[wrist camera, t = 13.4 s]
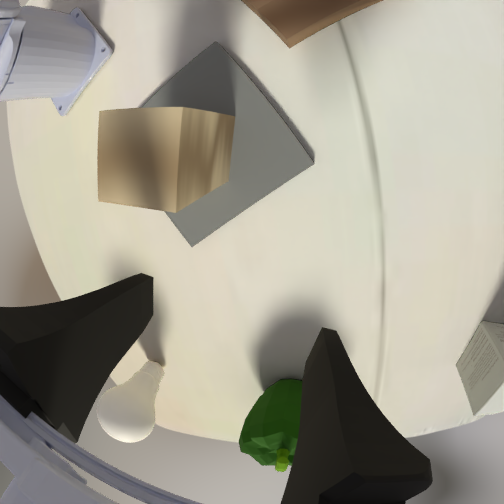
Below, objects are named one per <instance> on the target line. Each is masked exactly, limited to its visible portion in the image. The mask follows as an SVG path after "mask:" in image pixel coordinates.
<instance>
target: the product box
mask: <svg viewBox="0 0 504 504" xmlns="http://www.w3.org/2000/svg"><path fill="white" fill-rule="evenodd" d="M456 367H457V369H458V372H459V375H460V377H461V380H462V383H463V385H464V388H465V391H466V394H467V397H468V400H469V403H470V406H471V409H472V412H473V415H474V416H479V415H486V414H496V413H499V412H504V324H500V323H492V322H487V321H482V322H481V323H480V325H479V326H478V328H477V330H476V332H475V334H474V336H473V338H472V339H471V341H470V343H469V345H468V346H467V348H466V350H465V351H464V353H463V354H462V356H461V358H460V359H459V361H458V362H457V364H456Z"/></svg>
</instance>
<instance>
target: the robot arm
mask: <svg viewBox="0 0 504 504" xmlns="http://www.w3.org/2000/svg"><path fill="white" fill-rule="evenodd" d="M105 48H106V49H105ZM104 50H105V51H104ZM112 52H113V50H112V48H111V47H110V46H109V45H108V43H107V42H106V41H105V40H104V38H103V37H102V36H101V34H100V33H99V32H98V31H97V29H96V28H95V27H94V26H93V24H92V23H91V22H90V20H89V19H88V18H87V17H86V15H85V14H84V13H83V12H82V10H81V9H80V8H78V7H76V8H74V9H73V11H72V12H71V13H70V14H67V13H63V12H59V11H55V10H50V9H45V8H40V7H35V6H23V7H21V6H20V3H19V0H0V102H1V101H10V100H20V99H34V98H51V99H52V101H53V103H54V105H55V107H56V109H57V110H58V112H59V114H60V115H61V116H65V115H66V114H67V113H68V111H69V110H70V108H71V107H72V105H73V104H74V102H75V101H76V100H77V98H78V97H79V95H80V94H81V93H82V91H83V90H84V89H85V87H86V86H87V85H88V83H89V82H90V81H91V79H92V78H93V77H94V76H95V74H96V73H97V72H98V71H99V69H100V68H101V67H102V66H103V65H104V63H105V62H106V61H107V60H108V59H109V58H110V56H111V55H112ZM152 316H153V277H151V276H148V275H145V274H143V273H140V274H137V275H134V276H131V277H129V278H126V279H124V280H121V281H119V282H116V283H114V284H111V285H109V286H106V287H104V288H101V289H99V290H96V291H93V292H90V293H87V294H84V295H82V296H78V297H75V298H72V299H68V300H64V301H60V302H55V303H49V304H43V305H37V306H28V307H0V461H1V462H2V463H3V464H4V465H5V466H6V467H7V468H8V469H9V470H10V471H11V472H12V473H13V474H14V476H15V477H14V478H13V480H12V482H11V483H10V484H9V486H8V487H7V489H6V490H5V492H4V494H3V495H2V497H1V498H0V504H119V503H117V502H115V501H113V500H111V499H109V498H107V497H105V496H104V495H102V494H100V493H98V492H97V491H95V490H93V489H91V488H90V487H88V486H87V485H86V484H87V480H86V479H84V478H83V477H82V476H80V475H79V474H78V473H77V472H76V471H75V470H73V468H72V467H71V466H70V465H69V463H67V462H66V461H65V460H63V459H62V458H61V457H60V456H58V455H57V454H56V453H55V452H53V451H52V449H54V450H55V451H57V452H58V453H60V454H61V455H62V456H63V457H65V458H66V459H68V460H69V461H71V462H72V463H74V464H75V465H77V466H78V467H80V468H81V469H83V470H84V471H86V472H88V473H89V474H91V475H93V476H94V477H96V478H98V479H99V480H101V481H103V482H105V483H106V484H108V485H110V486H112V487H114V488H116V489H118V490H119V491H121V492H123V493H125V494H127V495H130V496H132V497H134V498H136V499H138V500H140V501H142V502H145V503H147V504H202V503H199V502H196V501H192V500H190V499H186V498H184V497H181V496H178V495H175V494H173V493H170V492H167V491H165V490H162V489H160V488H158V487H155V486H153V485H150V484H148V483H146V482H144V481H141V480H139V479H137V478H135V477H133V476H131V475H129V474H127V473H125V472H123V471H121V470H119V469H117V468H115V467H113V466H111V465H110V464H108V463H106V462H104V461H102V460H101V459H99V458H97V457H96V456H94V455H92V454H91V453H89V452H87V451H86V450H84V449H83V448H81V447H79V446H78V445H76V444H75V443H77V442H78V439H79V436H80V434H81V431H82V429H83V426H84V424H85V421H86V419H87V417H88V415H89V412H90V410H91V408H92V406H93V404H94V402H95V400H96V398H97V396H98V394H99V393H100V391H101V389H102V387H103V385H104V384H105V382H106V380H107V379H108V377H109V375H110V374H111V372H112V371H113V369H114V368H115V366H116V365H117V364H118V363H119V361H120V360H121V359H122V357H123V356H124V355H125V354H126V352H127V351H128V350H129V349H130V348H131V346H132V345H133V344H134V343H135V341H136V340H137V339H138V337H139V336H140V335H141V334H142V332H143V331H144V329H145V328H146V326H147V324H148V323H149V321H150V319H151V317H152ZM51 448H52V449H51ZM431 484H432V471H431V464H430V459H428V458H427V457H426V456H425V455H424V454H422V453H421V452H420V451H419V450H417V449H416V448H415V447H414V446H413V445H411V444H410V443H409V442H408V441H407V440H406V439H405V438H404V437H403V436H402V435H401V434H400V433H399V432H398V431H397V430H396V429H395V428H394V426H393V425H392V424H391V423H390V422H389V421H388V419H387V418H386V417H385V416H384V415H383V413H382V412H381V411H380V409H379V408H378V407H377V405H376V404H375V402H374V401H373V400H372V398H371V397H370V395H369V394H368V392H367V390H366V389H365V387H364V385H363V384H362V382H361V380H360V379H359V377H358V375H357V373H356V371H355V369H354V367H353V365H352V363H351V361H350V359H349V357H348V355H347V353H346V350H345V348H344V346H343V344H342V342H341V339H340V337H339V335H338V333H337V331H335V330H331V329H327V328H323V327H322V329H321V331H320V333H319V335H318V338H317V340H316V342H315V344H314V346H313V348H312V350H311V352H310V355H309V357H308V359H307V361H306V365H305V370H304V376H303V382H302V395H301V411H300V426H299V434H298V440H297V445H296V449H295V454H294V458H293V462H292V467H291V471H290V474H289V478H288V482H287V485H286V488H285V492H284V495H283V498H282V501H281V504H405V501H406V500H408V499H410V498H412V497H414V496H416V495H417V494H419V493H421V492H423V491H424V490H426V489H427V488H428V487H429V486H430V485H431Z"/></svg>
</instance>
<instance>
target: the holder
mask: <svg viewBox="0 0 504 504" xmlns="http://www.w3.org/2000/svg"><path fill="white" fill-rule="evenodd" d="M241 1H243V2H244V3H245V4H246V5H247V6H248V7H249V8H250V9H251V10H252V11H253V12H255V13H256V14H257V15H258V16H259V17H260V18H261V19H262V20H263V21H264V22H265V23H266V24H267V25H268V26H269V27H270V28H271V29H272V30H273V31H274V32H275V33H276V34H277V35H278V36H279V37H280V38H281V39H282V41H283V42H284V43H285V44H286V45H287V46H288V47H289V48H291V47H292V46H294V45H296V44H297V43H299V42H301V41H302V40H304V39H306V38H307V37H309V36H311V35H313V34H315V33H316V32H318V31H320V30H322V29H324V28H325V27H327V26H329V25H331V24H333V23H335V22H337V21H339V20H341V19H343V18H345V17H347V16H349V15H351V14H353V13H355V12H357V11H360V10H362V9H364V8H366V7H368V6H371V5H373V4H375V3H378V2H380V1H383V0H241Z"/></svg>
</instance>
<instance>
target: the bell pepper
mask: <svg viewBox="0 0 504 504" xmlns="http://www.w3.org/2000/svg"><path fill="white" fill-rule="evenodd" d="M302 382H303V381H299V380H295V379H282V380H279V381H278V382H276V383H275V384H273V385H272V386H270V387H269V388H267V389H266V390H265V392H264V394H263V395H261V396H260V397H259V399H258V400H257V402H256V403H255V404H254V406H253V408H252V409H251V411H250V412H249V414H248V416H247V417H246V419H245V422H244V425H243V428H242V431H241V435H240V439H239V445H240V450H241V452H243V453H246V454H249V455H250V456H252V457H253V458H254V459H255V460H256V461H258V462H259V463H260V464H261V465H275V469H276V470H277V471H281V472H284V471H286V469H287V466H288V465H291V466H292V462H293V458H294V454H295V449H296V445H297V440H298V434H299V426H300V411H301V395H302Z"/></svg>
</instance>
